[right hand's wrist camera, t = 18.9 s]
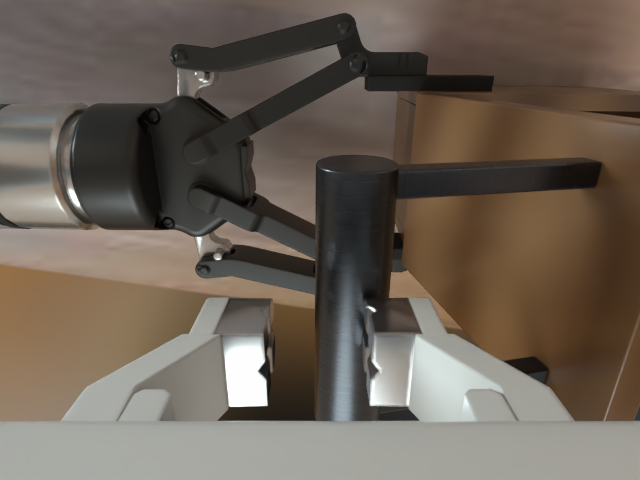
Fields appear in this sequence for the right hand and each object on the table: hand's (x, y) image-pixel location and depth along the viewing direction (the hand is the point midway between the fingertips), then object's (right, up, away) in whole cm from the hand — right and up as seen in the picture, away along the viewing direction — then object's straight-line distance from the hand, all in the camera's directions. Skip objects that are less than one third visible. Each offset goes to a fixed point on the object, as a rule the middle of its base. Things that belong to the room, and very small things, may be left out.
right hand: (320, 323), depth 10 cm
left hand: (+9, +6, +15) cm, 19 cm away
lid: (+7, +2, +6) cm, 10 cm away
